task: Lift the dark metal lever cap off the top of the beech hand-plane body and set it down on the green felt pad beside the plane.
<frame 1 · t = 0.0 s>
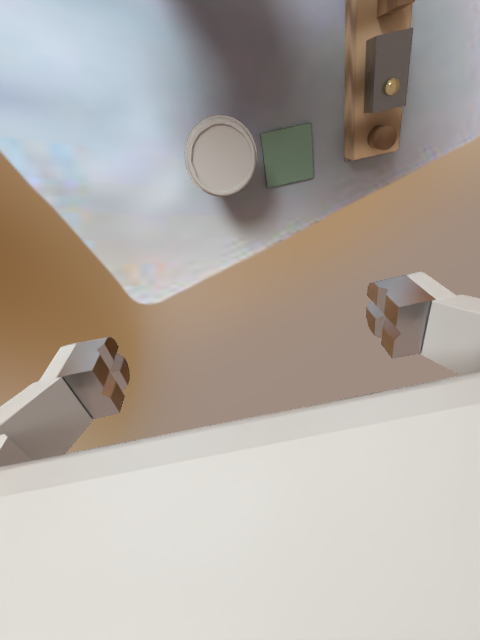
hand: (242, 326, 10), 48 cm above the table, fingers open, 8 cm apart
plane body: (368, 78, 46), on the table
lever cap: (380, 75, 42), point 4 cm above the table, touching plane body
felt pad: (287, 156, 50), on the table
disposable coffee cup: (218, 150, 49), on the table
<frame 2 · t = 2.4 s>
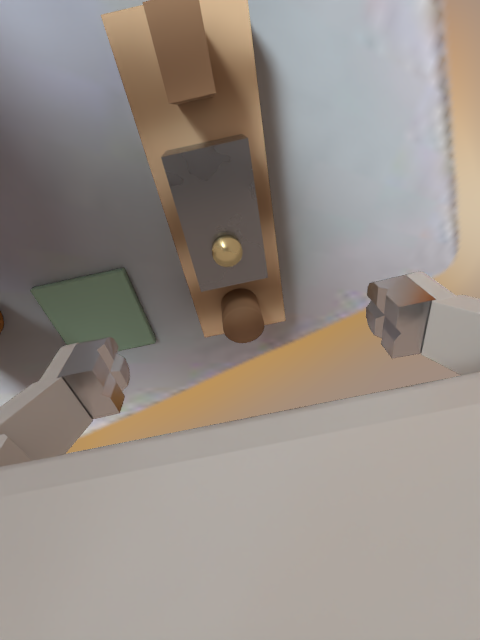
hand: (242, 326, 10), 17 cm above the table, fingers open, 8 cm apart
plane body: (216, 196, 23), on the table
lever cap: (219, 210, 20), point 4 cm above the table, touching plane body
felt pad: (99, 315, 28), on the table
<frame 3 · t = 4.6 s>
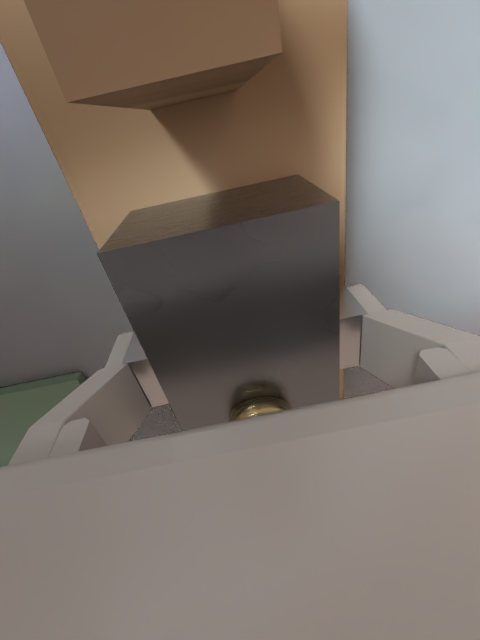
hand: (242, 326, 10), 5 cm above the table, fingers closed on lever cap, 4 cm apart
plane body: (232, 267, 14), on the table
lever cap: (241, 316, 10), point 4 cm above the table, touching gripper, plane body
felt pad: (48, 431, 18), on the table
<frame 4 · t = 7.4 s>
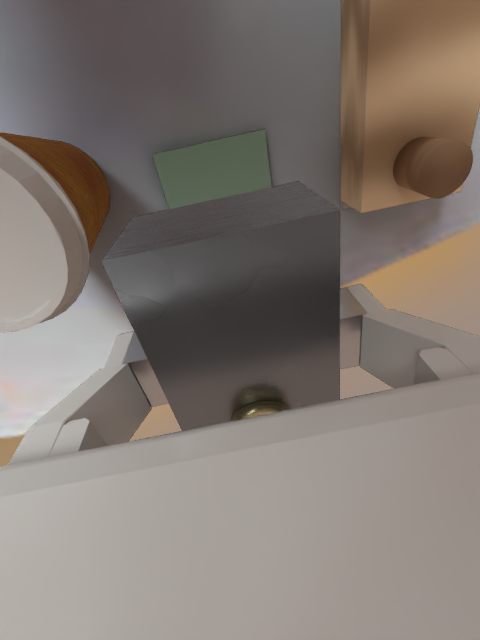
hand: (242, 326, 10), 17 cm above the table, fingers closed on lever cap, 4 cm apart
plane body: (396, 22, 19), on the table
lever cap: (241, 320, 10), point 17 cm above the table, touching gripper
felt pad: (220, 199, 24), on the table
disposable coffee cup: (66, 189, 23), on the table
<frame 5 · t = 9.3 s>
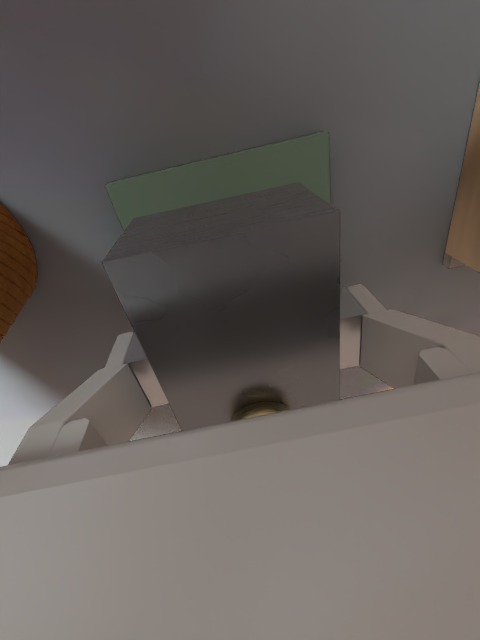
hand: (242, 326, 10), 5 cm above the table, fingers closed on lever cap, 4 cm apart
lever cap: (242, 321, 10), point 4 cm above the table, touching gripper
felt pad: (236, 257, 13), on the table
when the fingers open (3 cm above the table, at t = 10.6 s): lever cap drops 1 cm, resting on felt pad.
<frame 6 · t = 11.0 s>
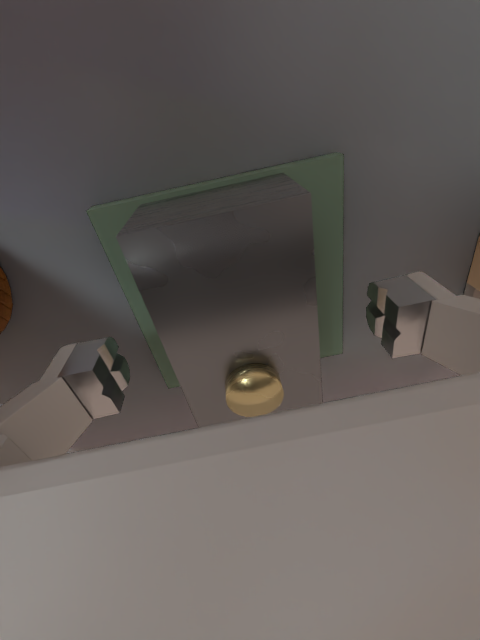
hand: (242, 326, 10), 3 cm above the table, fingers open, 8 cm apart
lever cap: (236, 299, 12), point 1 cm above the table, touching felt pad
felt pad: (236, 288, 12), on the table
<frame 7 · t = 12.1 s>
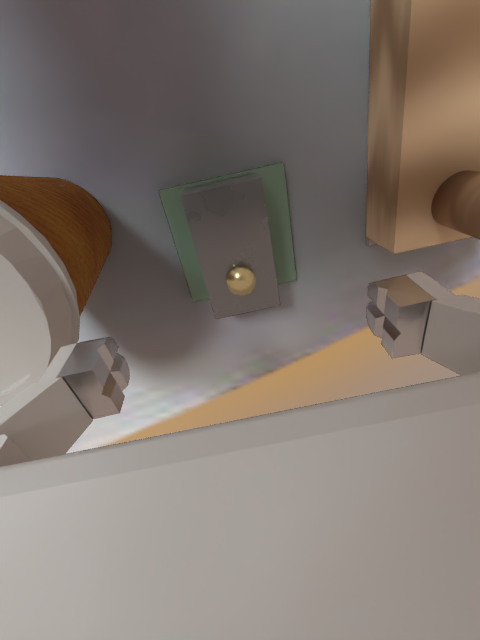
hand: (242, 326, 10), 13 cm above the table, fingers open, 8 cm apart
plane body: (431, 47, 17), on the table
lever cap: (232, 242, 21), point 1 cm above the table, touching felt pad
felt pad: (233, 237, 22), on the table
disposable coffee cup: (64, 228, 21), on the table
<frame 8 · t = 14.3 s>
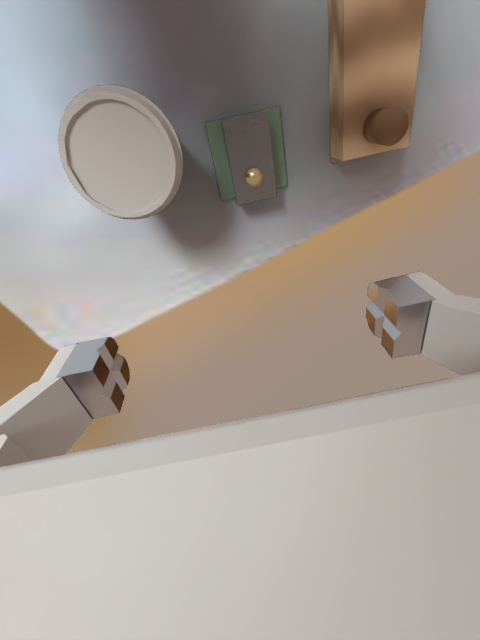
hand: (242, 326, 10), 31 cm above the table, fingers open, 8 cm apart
plane body: (363, 36, 30), on the table
lever cap: (248, 158, 34), point 1 cm above the table, touching felt pad
felt pad: (248, 155, 35), on the table
disposable coffee cup: (145, 147, 34), on the table
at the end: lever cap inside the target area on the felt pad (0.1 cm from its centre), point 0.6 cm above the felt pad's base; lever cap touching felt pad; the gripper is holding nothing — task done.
